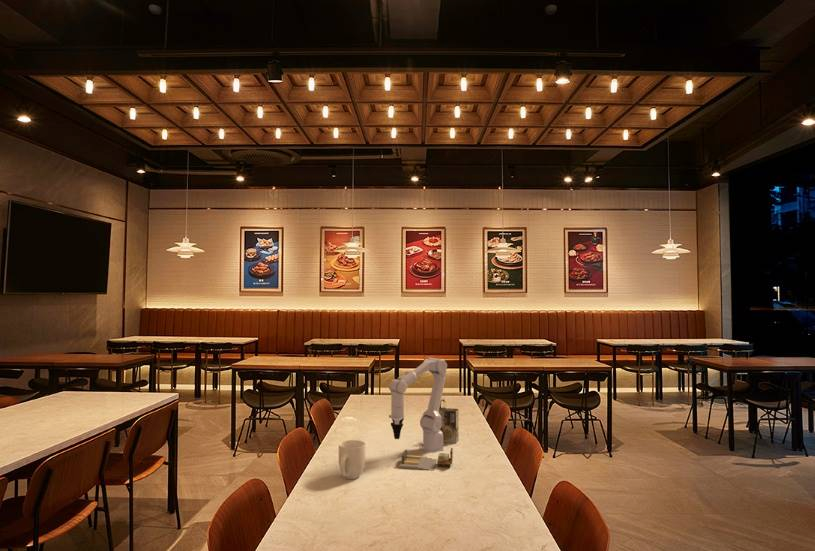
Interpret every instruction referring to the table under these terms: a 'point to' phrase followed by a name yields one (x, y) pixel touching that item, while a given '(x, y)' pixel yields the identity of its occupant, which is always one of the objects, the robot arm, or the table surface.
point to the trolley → (445, 458)
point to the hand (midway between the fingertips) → (397, 436)
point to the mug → (352, 458)
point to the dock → (417, 462)
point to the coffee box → (449, 424)
